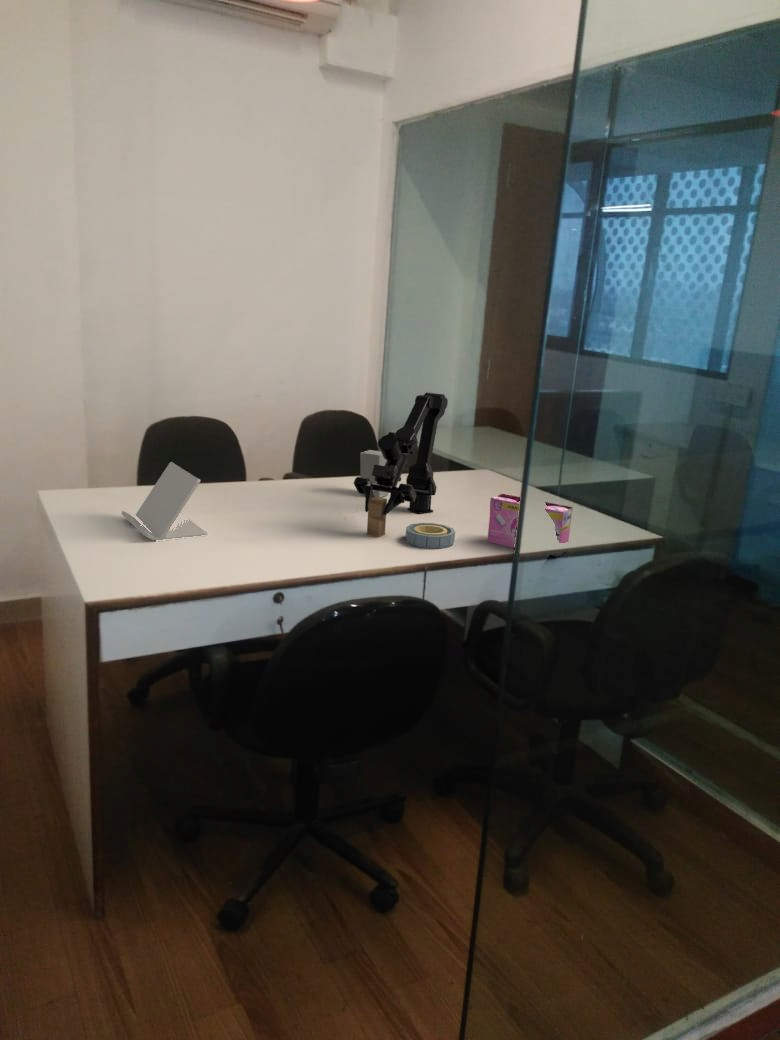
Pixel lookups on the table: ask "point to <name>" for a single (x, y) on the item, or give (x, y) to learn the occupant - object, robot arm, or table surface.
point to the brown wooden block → (376, 517)
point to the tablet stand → (167, 506)
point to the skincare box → (371, 467)
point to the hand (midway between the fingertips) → (375, 512)
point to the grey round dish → (430, 535)
